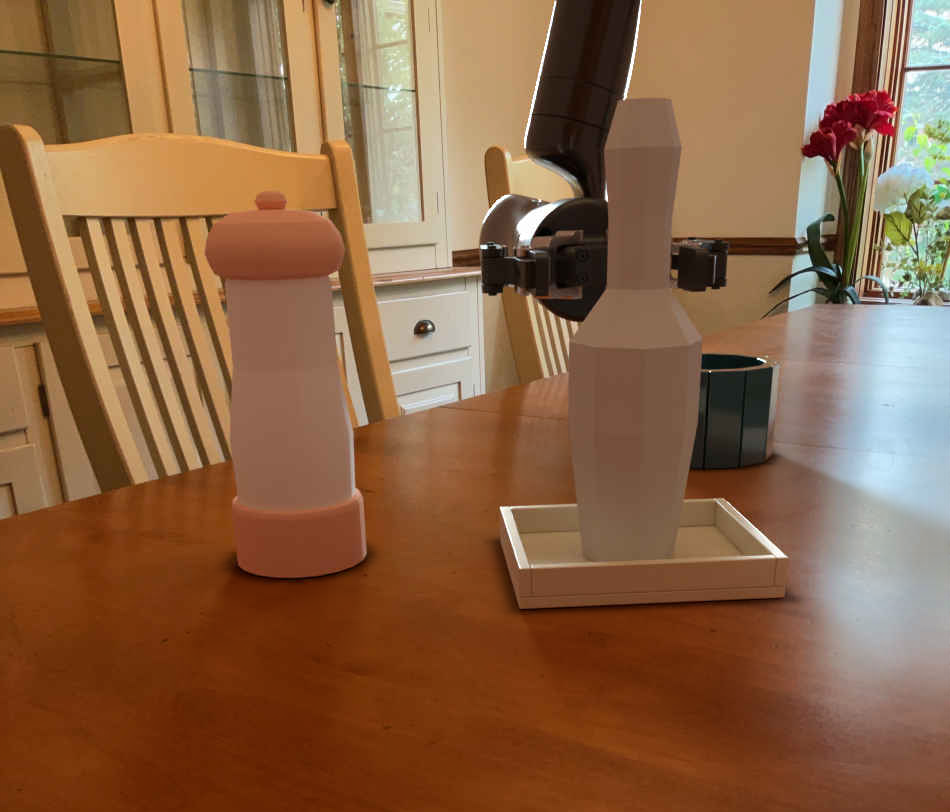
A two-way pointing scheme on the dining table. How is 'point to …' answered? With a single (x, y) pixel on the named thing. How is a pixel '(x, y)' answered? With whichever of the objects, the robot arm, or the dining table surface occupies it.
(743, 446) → the holder
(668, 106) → the faceted bottle
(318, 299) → the salt shaker
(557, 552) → the tray
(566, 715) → the dining table surface
